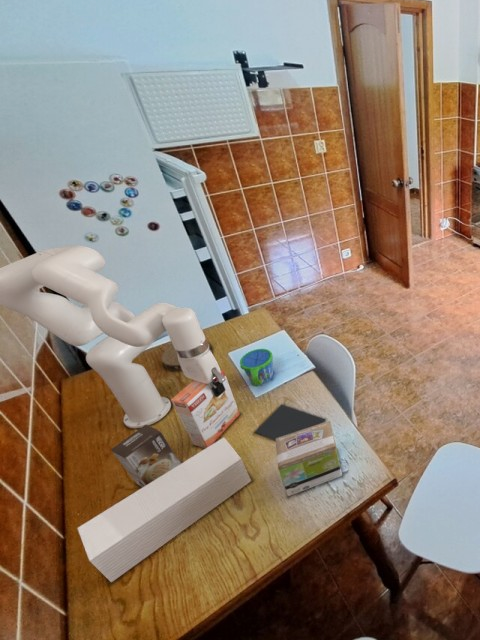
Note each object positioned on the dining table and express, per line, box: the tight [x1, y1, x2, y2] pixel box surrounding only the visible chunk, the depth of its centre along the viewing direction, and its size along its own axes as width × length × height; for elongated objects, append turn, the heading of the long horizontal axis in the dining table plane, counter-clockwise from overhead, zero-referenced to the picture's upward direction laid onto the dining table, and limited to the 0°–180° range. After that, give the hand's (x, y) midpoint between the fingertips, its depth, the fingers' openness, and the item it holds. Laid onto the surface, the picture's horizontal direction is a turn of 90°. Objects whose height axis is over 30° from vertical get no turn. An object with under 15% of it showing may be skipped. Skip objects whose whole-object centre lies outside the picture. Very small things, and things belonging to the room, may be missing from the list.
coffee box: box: [110, 425, 182, 488], centre depth 108 cm, size 9×6×16 cm
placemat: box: [254, 404, 326, 441], centre depth 128 cm, size 18×12×1 cm, turn 72°
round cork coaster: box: [160, 340, 212, 372], centre depth 153 cm, size 16×16×3 cm
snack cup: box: [239, 348, 274, 387], centre depth 143 cm, size 16×10×10 cm
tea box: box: [274, 420, 343, 497], centre depth 111 cm, size 15×10×15 cm, turn 117°
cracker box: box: [170, 369, 241, 449], centre depth 121 cm, size 14×6×21 cm, turn 168°
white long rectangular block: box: [77, 437, 252, 583], centre depth 101 cm, size 32×11×11 cm, turn 142°
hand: (211, 390), depth 121 cm, fingers closed on cracker box, 6 cm apart
